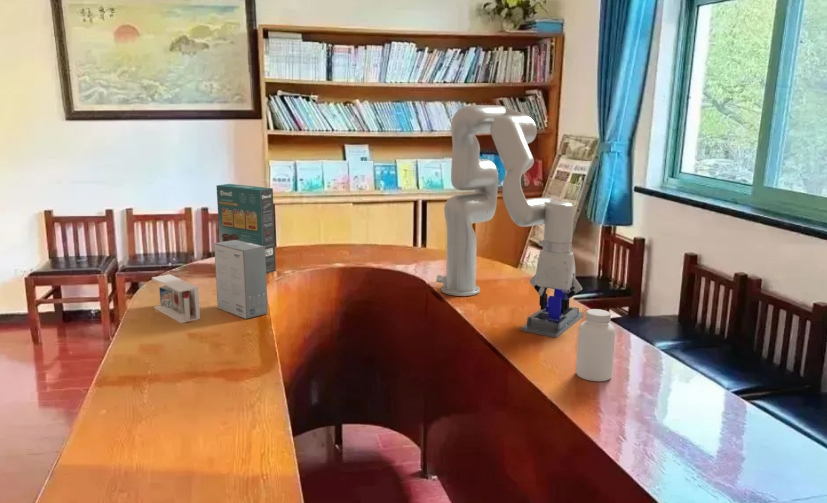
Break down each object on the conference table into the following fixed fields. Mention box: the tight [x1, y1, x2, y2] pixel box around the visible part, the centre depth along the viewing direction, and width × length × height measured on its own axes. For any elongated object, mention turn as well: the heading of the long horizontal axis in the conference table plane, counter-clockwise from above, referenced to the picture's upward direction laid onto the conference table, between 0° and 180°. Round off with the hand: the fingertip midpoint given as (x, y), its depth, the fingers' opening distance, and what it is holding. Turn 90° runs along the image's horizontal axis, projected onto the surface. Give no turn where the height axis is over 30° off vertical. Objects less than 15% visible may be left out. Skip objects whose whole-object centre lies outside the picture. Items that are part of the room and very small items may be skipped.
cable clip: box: [546, 289, 563, 320], centre depth 187 cm, size 12×4×6 cm, turn 161°
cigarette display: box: [151, 273, 201, 324], centre depth 193 cm, size 20×6×9 cm, turn 43°
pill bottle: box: [575, 308, 616, 382], centre depth 151 cm, size 8×8×15 cm
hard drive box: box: [213, 240, 269, 320], centre depth 194 cm, size 16×8×20 cm, turn 47°
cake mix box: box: [216, 183, 277, 275], centre depth 243 cm, size 22×6×30 cm, turn 58°
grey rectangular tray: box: [520, 306, 585, 339], centre depth 188 cm, size 10×22×3 cm, turn 148°
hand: (553, 309), depth 187 cm, fingers closed on cable clip, 5 cm apart
